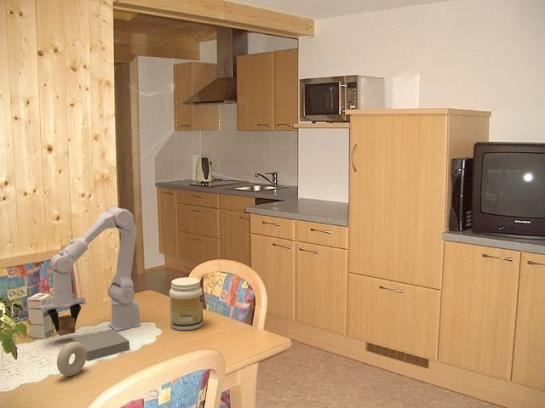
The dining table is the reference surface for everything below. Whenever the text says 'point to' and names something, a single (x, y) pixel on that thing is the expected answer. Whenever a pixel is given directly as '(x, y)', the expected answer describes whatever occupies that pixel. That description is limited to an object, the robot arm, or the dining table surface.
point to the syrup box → (39, 316)
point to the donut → (65, 356)
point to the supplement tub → (186, 304)
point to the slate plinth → (103, 343)
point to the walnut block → (66, 325)
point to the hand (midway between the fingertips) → (65, 327)
